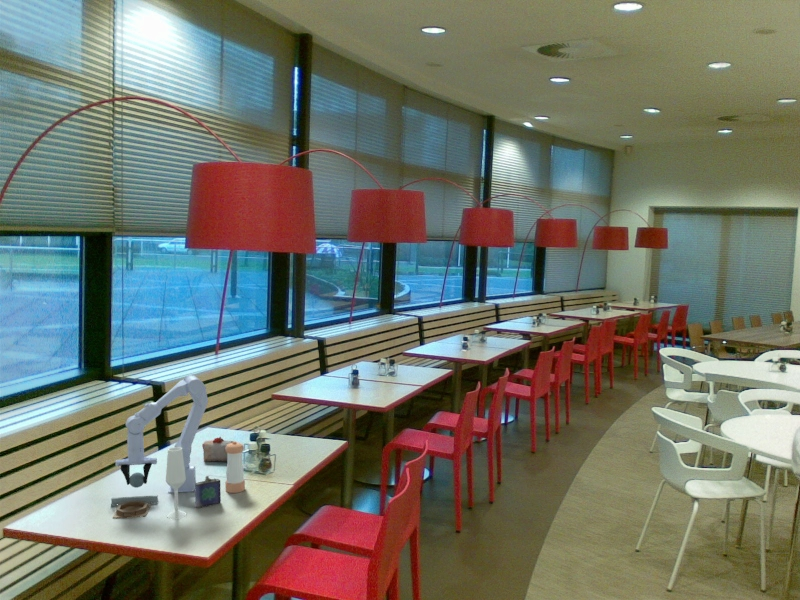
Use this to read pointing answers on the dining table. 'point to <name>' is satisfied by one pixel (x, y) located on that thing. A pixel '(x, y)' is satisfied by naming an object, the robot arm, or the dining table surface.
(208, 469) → the dining table surface
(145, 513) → the ring cradle
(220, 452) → the food item
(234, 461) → the pepper shaker
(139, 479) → the ball
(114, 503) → the grey bar
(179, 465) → the champagne flute
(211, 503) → the flask
